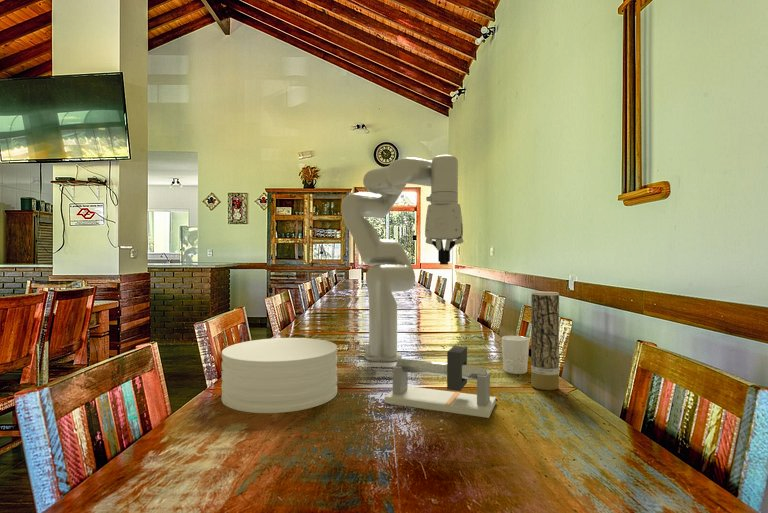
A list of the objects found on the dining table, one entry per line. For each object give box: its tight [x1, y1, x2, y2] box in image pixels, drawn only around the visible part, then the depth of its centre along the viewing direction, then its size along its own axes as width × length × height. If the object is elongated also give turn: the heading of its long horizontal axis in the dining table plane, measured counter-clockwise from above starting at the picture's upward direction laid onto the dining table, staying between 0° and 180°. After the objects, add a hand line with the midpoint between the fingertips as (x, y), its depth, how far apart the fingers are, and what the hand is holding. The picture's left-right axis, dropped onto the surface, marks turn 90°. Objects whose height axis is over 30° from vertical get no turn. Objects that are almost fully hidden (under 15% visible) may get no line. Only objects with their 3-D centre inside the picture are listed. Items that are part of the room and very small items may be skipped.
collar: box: [446, 345, 468, 392], centre depth 102 cm, size 3×7×8 cm, turn 157°
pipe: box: [395, 358, 488, 381], centre depth 103 cm, size 21×3×3 cm, turn 67°
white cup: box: [501, 335, 530, 375], centre depth 132 cm, size 8×8×10 cm
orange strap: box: [445, 391, 461, 406], centre depth 102 cm, size 1×10×8 cm, turn 157°
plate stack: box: [221, 337, 338, 414], centre depth 110 cm, size 28×28×12 cm
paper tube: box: [530, 290, 560, 391], centre depth 116 cm, size 7×7×25 cm
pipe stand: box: [384, 364, 497, 419], centre depth 103 cm, size 24×10×8 cm, turn 67°
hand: (444, 264), depth 125 cm, fingers closed
